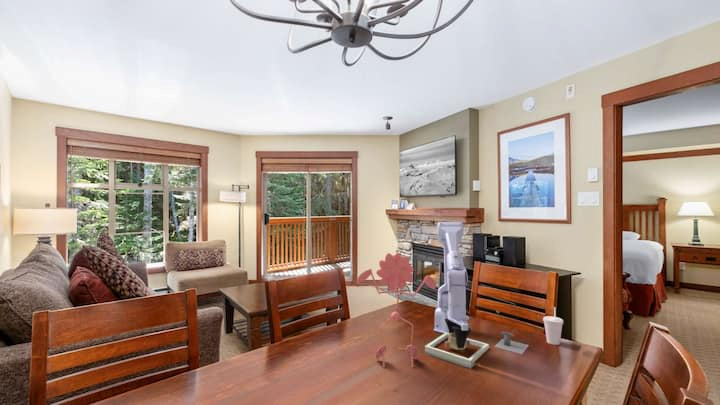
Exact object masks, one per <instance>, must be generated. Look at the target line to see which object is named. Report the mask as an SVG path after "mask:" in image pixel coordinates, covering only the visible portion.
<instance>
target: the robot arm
mask: <svg viewBox="0 0 720 405" xmlns="http://www.w3.org/2000/svg"><path fill="white" fill-rule="evenodd" d="M436 230H437V242H438V243H440V244H442V247H443V266H444V267H443V269H444V271H443V272H444V284H442V285H441V286H440V287H439V288H438V289H437V306H438V307H437V308H435V311H434V328H433V331H434V332H438V333H441V334H445V333H449V334H450V333H455V337H456V344H457V348H464V345H465V341H466V338H468V336H469V334H470V332H471V328H470V327H469V324H468V320H470V317H469V316H468V315H467V314H466V312H467V309H466V308H467V305H466V304H467V300H466V299H467V295H466V289H467V288H466V287H467V286H468V281H469V278H468V272H467V271H468V270H467V268H466V267H465V264H464V258H463V254H462V253H461V252H460V251H459V243H461V241H462V240H463V236H464V223H463V222H462V221H438V222H437V229H436Z"/></svg>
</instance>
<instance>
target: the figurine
mask: <svg viewBox="0 0 720 405" xmlns="http://www.w3.org/2000/svg"><path fill="white" fill-rule="evenodd" d="M410 262H411V257H410V256H402V254H401V252H397V253H395V254H394V255H392V254H391V253H390V252H387V254H386V255H385V258H384V260H383V259H381V260H379V262H378V264H379V268H380V269H378V270H376V275H377V276H378V278H381V279H380V282H379V283H380V285H382V286H387V285H388V289H389V290H383V291H379V287H378V285H377V282H376V279H375V277H374V275H373V272H372V269H371V268H369V269H366V270H364V271H363V272H362V273H360V274H359V276H358V277H357V279H356V284H357V285H359V284H361V283H362V282H364V281H366V280H367V279H368V278H369V277H371V279H372V281H373V283H374V287H375V289H376V292H377V294H386V293H393V292H394V293H395V294H396V295H397V298H396V299H397V300H396V304H395V309H394V312H392V313H391V316H390V318H388V319H387V320H386V321H385V322H384V323H383V324H382V325H380V328H379V330H380V339H381V340H380V341H381V346H380V347H379V348H378V349H377V348H375V349H373V350H372V351H370V353H371V352H375V351H376V352H375V354H374V356H375V359H376V360H379V359H380V358H381V357H382V368H386V365H385V364H386V363H385V361H386V360H385V353H386V351H387V349H392V346H391V347H390V346H389V347H388V346H387V345H385V344H384V342H383V333H382V332H383V330H382V327H383V326H384V325H385V324H387V323H388V322H389V321H390V320H391V319H392V320H393V321H399V319H400V320H402V321H404V322H406V323H407V324H410V325H411V326H412V327H411V337H410V339H411V340H410V344H408V345H406V348H405V351H406V354H407V355H408V356H410V360H411V367H412V368H413V367H414V359H415V358H416V357H417V356H418V355H419V350H418V347H416V346H415V345H414V344H413V338H414V335H413V334H414V324H413V323H412V322H409V321H408V320H406V319H404V318H402V316H400V313H399V312H397V308H398V305H399V301H400V294H402V295H406V296H408V297H413V298H414V296H416V295H417V293H418V292H419V291H420V290H421V288H422V287H423V286H424V284H425V285H426V286H427V287H428V288H430V289H432V290H435V289H436V288H437V282H436V280H435V279H434V278H433V277H431V276H429V275H428V274H427V275H426V276H424V279H423V281H422V282H421V284H420V285H418V288H417V289H416V291H415V292H414V293H413V294H412V293H408V292H404V291H401V290H404V289H405V288H406V285H407V282H408V283H412V282H413V281H414V276H413V274H412V272H414V270H415V269H414V267H413V266H412V265H411V264H409V263H410ZM398 288H399V289H400V290H398ZM399 293H400V294H399ZM383 344H384V345H383ZM400 349H401V350H404V348H401V347H399V350H400ZM367 354H369V352H366V355H367ZM413 358H414V359H413Z"/></svg>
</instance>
